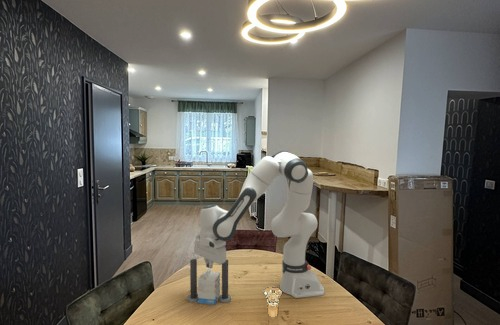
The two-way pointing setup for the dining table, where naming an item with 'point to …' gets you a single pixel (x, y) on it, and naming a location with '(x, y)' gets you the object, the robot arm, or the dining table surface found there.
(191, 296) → the post
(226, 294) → the post
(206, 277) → the ink box
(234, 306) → the dining table surface
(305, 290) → the robot arm
